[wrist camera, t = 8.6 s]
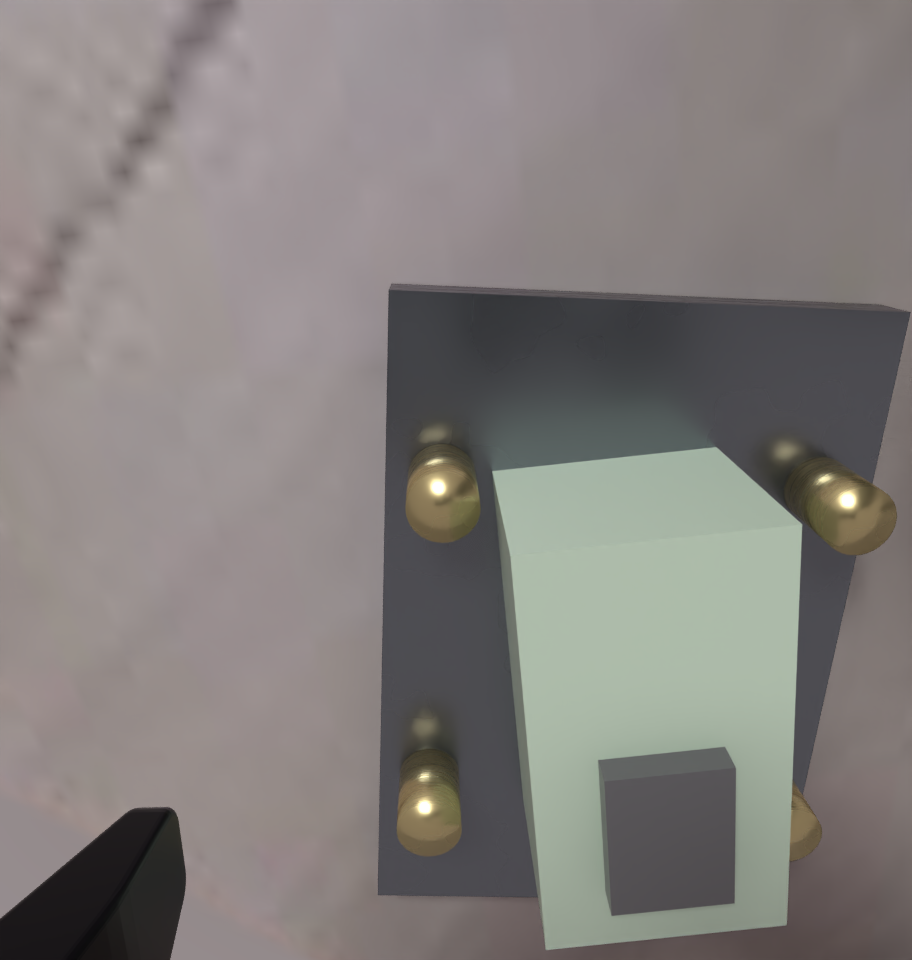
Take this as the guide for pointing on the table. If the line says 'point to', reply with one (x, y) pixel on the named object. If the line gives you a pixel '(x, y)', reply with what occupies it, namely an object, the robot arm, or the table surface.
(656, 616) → the pale green block
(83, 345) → the table surface
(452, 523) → the chassis
